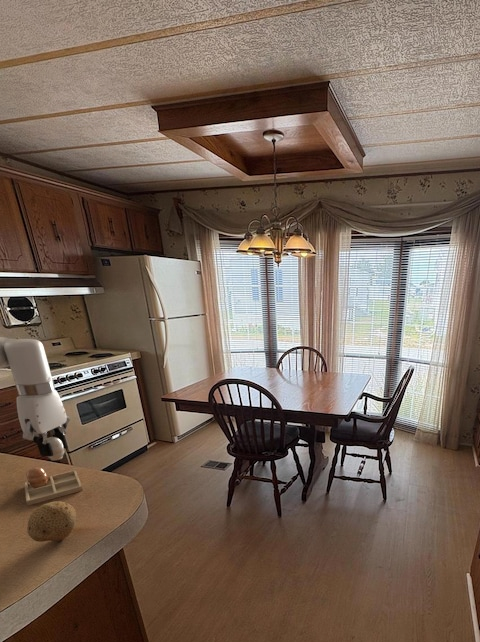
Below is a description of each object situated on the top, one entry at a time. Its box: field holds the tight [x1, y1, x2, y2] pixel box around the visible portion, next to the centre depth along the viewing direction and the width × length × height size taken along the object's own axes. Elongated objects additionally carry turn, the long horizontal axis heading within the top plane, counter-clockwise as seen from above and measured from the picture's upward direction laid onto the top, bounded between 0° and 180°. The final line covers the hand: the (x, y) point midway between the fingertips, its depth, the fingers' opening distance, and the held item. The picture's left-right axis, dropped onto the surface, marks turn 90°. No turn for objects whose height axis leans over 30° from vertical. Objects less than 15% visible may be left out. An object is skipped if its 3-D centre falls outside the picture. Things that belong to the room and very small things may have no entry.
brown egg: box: [25, 466, 48, 489], centre depth 100 cm, size 4×4×6 cm
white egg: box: [46, 436, 65, 461], centre depth 95 cm, size 4×4×6 cm
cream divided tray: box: [23, 469, 83, 506], centre depth 101 cm, size 13×13×2 cm
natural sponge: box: [27, 500, 77, 543], centre depth 79 cm, size 9×9×10 cm
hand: (54, 451), depth 95 cm, fingers closed on white egg, 4 cm apart
